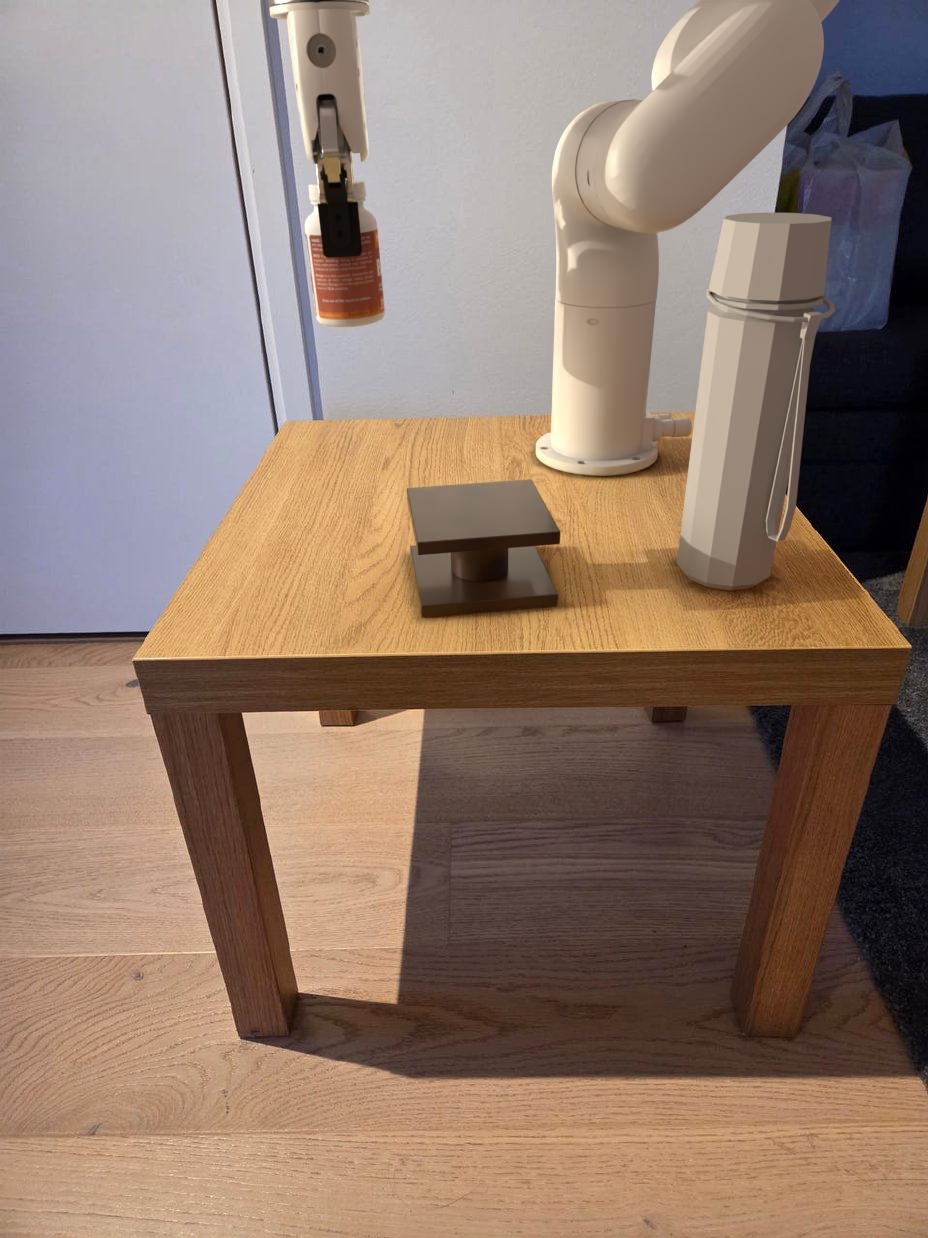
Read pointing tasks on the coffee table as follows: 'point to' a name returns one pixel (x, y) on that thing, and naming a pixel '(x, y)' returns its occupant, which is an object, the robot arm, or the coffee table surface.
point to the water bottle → (752, 395)
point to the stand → (480, 547)
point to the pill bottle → (346, 271)
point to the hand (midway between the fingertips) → (343, 248)
